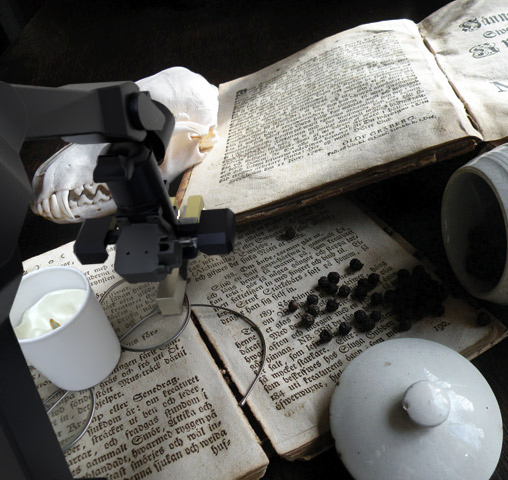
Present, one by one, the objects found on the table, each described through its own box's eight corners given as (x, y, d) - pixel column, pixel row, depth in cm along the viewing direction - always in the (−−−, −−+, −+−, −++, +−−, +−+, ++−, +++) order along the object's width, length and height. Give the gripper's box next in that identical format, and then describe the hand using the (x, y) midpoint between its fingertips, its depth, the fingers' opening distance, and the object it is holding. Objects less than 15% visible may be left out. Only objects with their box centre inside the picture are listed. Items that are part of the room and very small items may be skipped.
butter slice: (186, 253, 69) (180, 236, 67) (194, 212, 76) (188, 195, 73) (199, 252, 69) (194, 235, 67) (206, 211, 76) (201, 194, 73)
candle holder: (29, 397, 55) (-31, 341, 46) (64, 326, 61) (17, 265, 53) (112, 398, 54) (66, 341, 45) (138, 326, 61) (102, 264, 52)
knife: (181, 314, 61) (173, 297, 59) (162, 315, 61) (154, 299, 59) (197, 219, 74) (192, 202, 71) (182, 220, 74) (176, 203, 71)
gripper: (28, 248, 47) (90, 334, 58) (214, 234, 47) (241, 323, 59) (64, 179, 55) (112, 267, 66) (224, 167, 55) (245, 257, 66)
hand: (175, 278), depth 64 cm, fingers closed on knife, 2 cm apart
